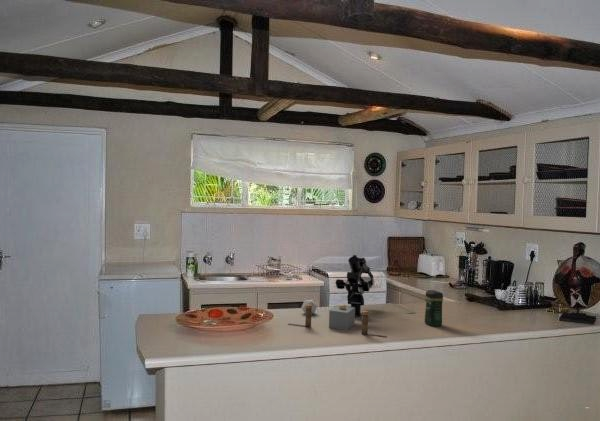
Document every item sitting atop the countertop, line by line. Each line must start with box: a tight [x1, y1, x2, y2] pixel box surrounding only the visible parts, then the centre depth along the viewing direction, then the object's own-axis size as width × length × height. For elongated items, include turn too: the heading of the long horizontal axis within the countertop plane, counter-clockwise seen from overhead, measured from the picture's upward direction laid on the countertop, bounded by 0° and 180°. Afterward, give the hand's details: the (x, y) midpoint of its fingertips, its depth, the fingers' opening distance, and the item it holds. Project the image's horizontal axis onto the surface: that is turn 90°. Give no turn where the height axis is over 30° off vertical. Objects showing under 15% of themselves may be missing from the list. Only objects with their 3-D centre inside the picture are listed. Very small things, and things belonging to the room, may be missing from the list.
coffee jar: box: [424, 289, 444, 327], centre depth 273 cm, size 10×8×19 cm
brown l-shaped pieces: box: [287, 305, 387, 338], centre depth 255 cm, size 3×52×11 cm, turn 68°
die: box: [301, 299, 318, 315], centre depth 290 cm, size 8×9×10 cm
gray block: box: [328, 304, 356, 331], centre depth 265 cm, size 14×10×11 cm
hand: (349, 297), depth 277 cm, fingers closed
